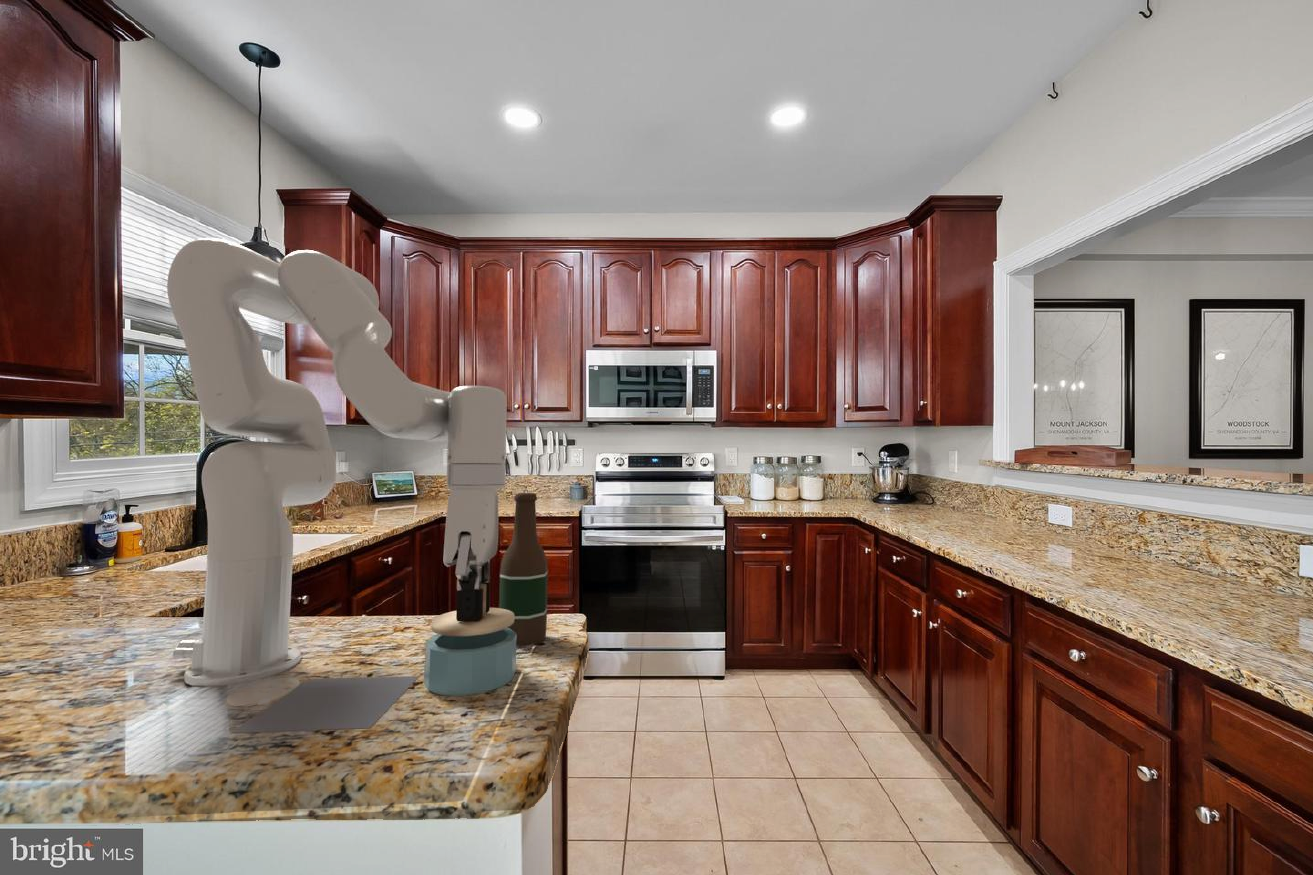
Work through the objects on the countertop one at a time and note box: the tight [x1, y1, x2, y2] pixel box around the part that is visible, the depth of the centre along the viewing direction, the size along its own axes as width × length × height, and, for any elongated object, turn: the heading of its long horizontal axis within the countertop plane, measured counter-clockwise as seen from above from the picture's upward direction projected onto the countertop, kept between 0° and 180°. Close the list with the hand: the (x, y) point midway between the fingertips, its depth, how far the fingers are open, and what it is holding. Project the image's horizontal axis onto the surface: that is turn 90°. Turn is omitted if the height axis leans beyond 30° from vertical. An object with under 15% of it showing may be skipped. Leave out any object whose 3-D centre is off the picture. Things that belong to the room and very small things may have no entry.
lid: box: [430, 583, 514, 636], centre depth 69 cm, size 10×10×5 cm
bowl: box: [423, 628, 517, 697], centre depth 69 cm, size 11×11×6 cm
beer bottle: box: [498, 492, 549, 647], centre depth 86 cm, size 8×8×24 cm
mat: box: [229, 675, 420, 734], centre depth 61 cm, size 14×14×1 cm
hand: (473, 615), depth 69 cm, fingers closed on lid, 3 cm apart
